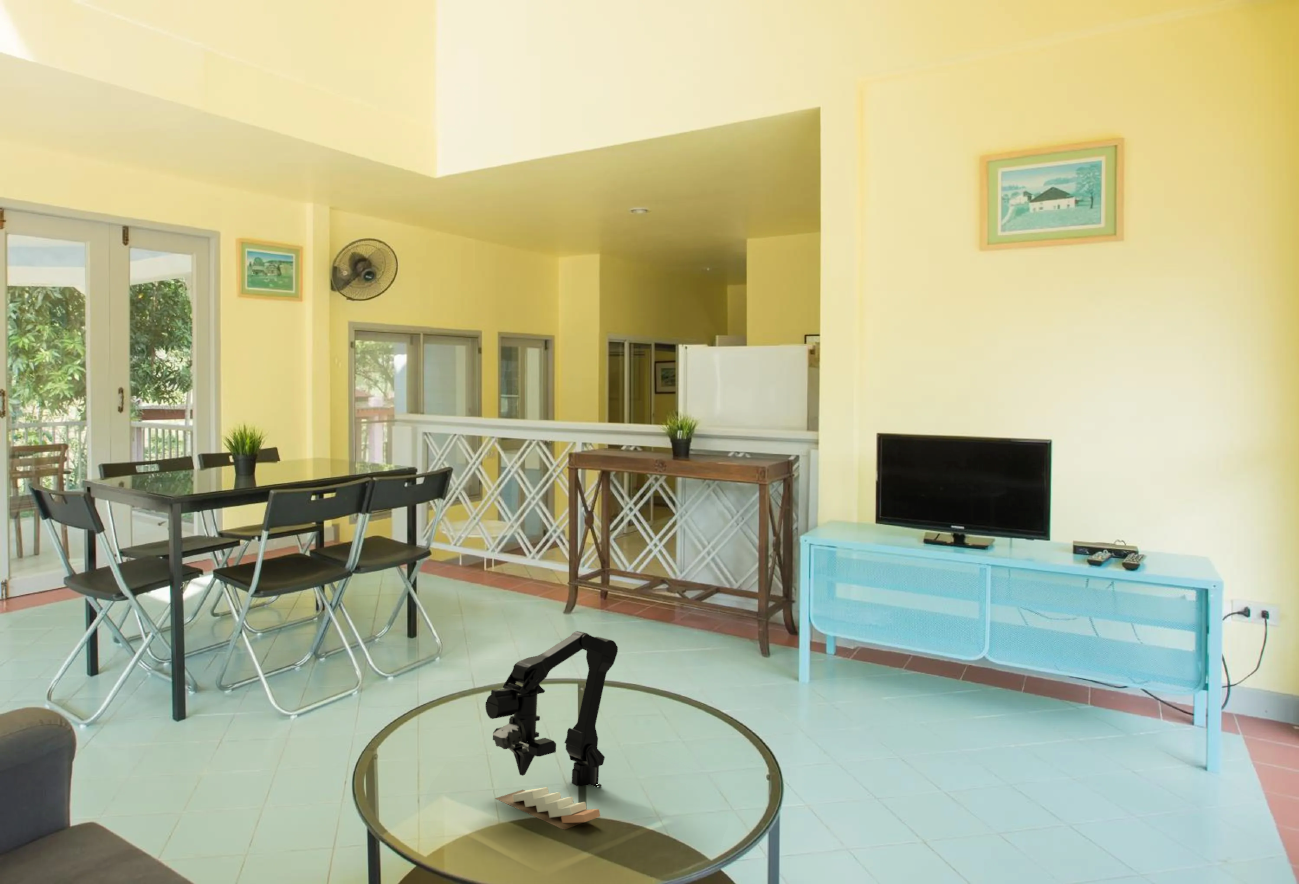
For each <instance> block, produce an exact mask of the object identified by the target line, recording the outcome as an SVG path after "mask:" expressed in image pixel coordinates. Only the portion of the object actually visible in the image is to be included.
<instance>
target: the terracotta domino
mask: <svg viewBox="0 0 1299 884" xmlns="http://www.w3.org/2000/svg"><path fill="white" fill-rule="evenodd" d="M599 817H601V813H600V808H595V809H593V808H592V809H585V810H583V811H580V812H577V813H574V814H572V815H565V816H561V819H562V823H575V822H583V823H587V822H589V821H591V820H595V819H597V818H599Z"/></svg>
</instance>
